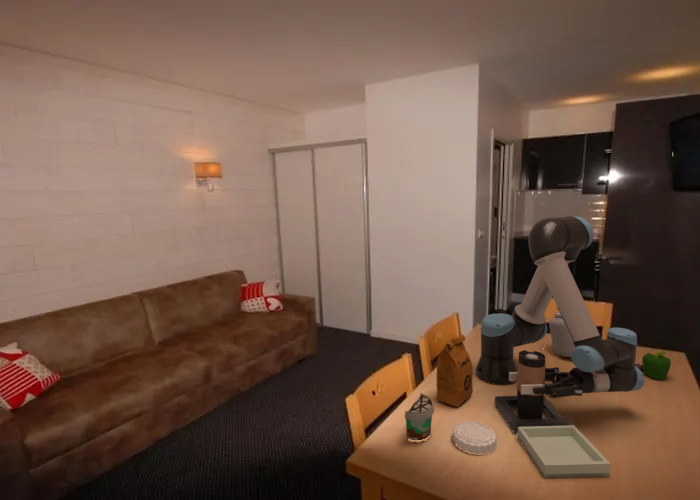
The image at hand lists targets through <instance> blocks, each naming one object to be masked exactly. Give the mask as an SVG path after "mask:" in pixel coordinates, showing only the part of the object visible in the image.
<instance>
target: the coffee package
mask: <svg viewBox="0 0 700 500" xmlns="http://www.w3.org/2000/svg"><path fill="white" fill-rule="evenodd" d="M465 340H466V336H465V335H464V334H461V335H459V336H456V337H453V338H450V339H449V340H448V341H447V343H445V346H444V347H442V349H441V351H440V353H439V355H438V358H437V362H436V363H437V364H436V377H435V378H436V400H437V401H438V400H439V401H438V402H440V401H441V403H446V404H447V405H450V406H452V407H459V406H461V405H462V404H464V402H465V401H467V399H468V398H470V397H471V396H472V394H473V393H474V390H473V389H474V388H473V386H474V385H473V372H474V367H473V362H472V359H471V357H470V355H469V353H468V351H467V349H466V347H465V344H464V341H465Z"/></svg>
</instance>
